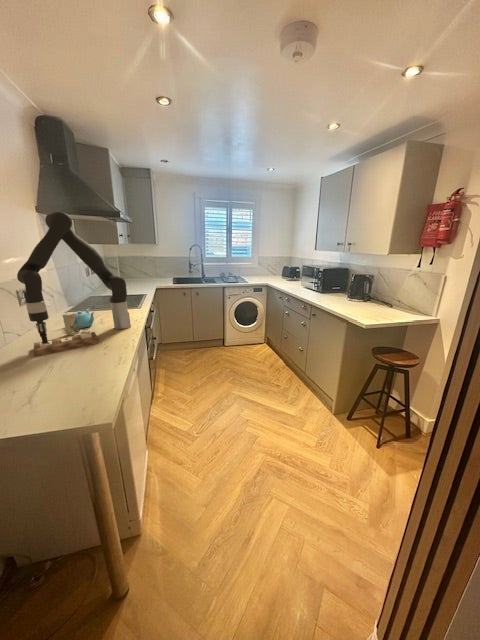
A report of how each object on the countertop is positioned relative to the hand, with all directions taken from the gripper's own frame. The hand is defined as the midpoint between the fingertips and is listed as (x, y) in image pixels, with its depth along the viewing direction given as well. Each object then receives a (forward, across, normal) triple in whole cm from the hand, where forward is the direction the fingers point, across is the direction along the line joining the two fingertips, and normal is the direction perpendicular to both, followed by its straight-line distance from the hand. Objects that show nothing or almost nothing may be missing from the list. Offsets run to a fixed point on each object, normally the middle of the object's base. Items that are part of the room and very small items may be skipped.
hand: (45, 342), depth 130 cm
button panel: (+4, 0, -9) cm, 10 cm away
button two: (+4, 0, 0) cm, 4 cm away
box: (+4, +19, -13) cm, 23 cm away
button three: (+2, 0, -18) cm, 18 cm away
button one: (+4, 0, -9) cm, 10 cm away
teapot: (+4, +33, -20) cm, 39 cm away
